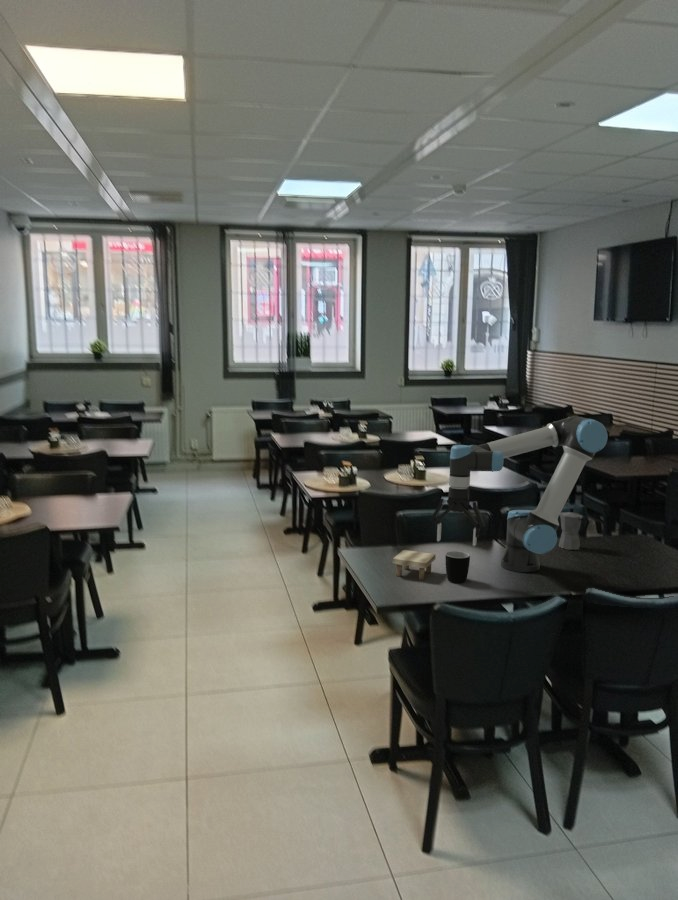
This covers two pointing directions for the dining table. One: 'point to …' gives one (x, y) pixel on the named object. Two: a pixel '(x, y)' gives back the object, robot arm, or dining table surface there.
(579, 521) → the coffeepot
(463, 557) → the mug
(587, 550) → the dining table surface
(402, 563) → the footstool
